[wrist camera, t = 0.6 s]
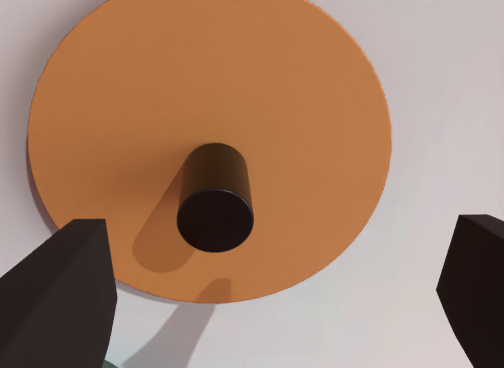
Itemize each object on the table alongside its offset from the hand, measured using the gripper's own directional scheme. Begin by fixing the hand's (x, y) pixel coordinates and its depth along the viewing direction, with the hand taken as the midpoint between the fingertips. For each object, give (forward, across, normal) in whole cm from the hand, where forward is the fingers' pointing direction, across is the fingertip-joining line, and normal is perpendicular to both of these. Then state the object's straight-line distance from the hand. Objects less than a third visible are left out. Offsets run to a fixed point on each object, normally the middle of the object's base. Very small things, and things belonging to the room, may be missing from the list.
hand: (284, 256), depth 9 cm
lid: (+8, +2, +2) cm, 8 cm away
